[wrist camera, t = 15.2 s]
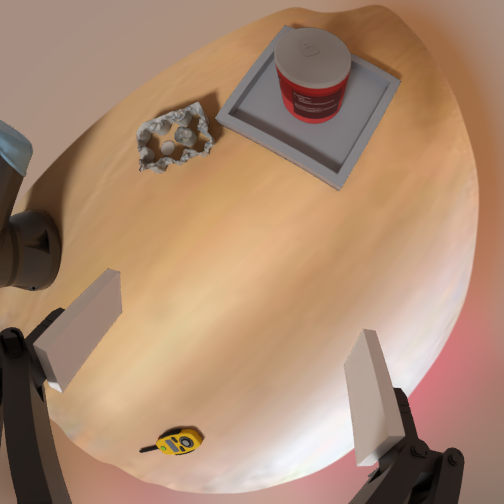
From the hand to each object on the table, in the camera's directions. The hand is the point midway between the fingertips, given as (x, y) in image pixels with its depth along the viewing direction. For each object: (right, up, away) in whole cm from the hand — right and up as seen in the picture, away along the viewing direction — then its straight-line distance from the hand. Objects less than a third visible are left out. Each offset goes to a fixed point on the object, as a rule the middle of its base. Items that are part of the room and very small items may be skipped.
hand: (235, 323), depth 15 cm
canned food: (+9, +24, +20) cm, 32 cm away
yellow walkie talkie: (-14, -30, +28) cm, 43 cm away
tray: (+9, +24, +20) cm, 32 cm away
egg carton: (-9, +19, +24) cm, 32 cm away
